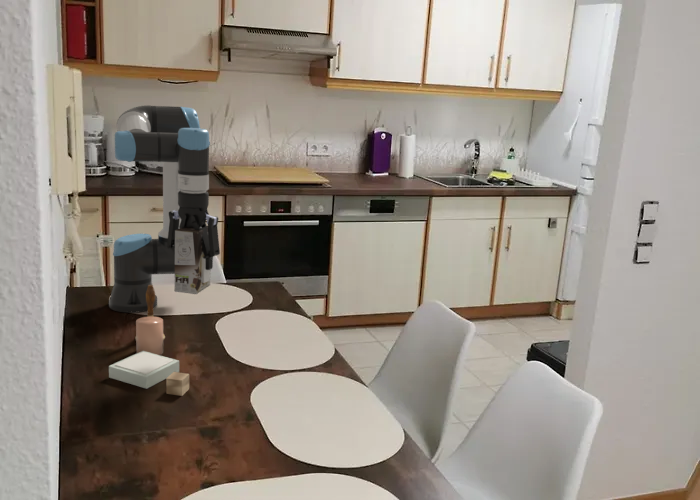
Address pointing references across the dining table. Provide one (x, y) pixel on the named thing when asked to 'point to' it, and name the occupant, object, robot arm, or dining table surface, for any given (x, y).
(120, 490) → the dining table surface
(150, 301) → the hand bell
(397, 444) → the dining table surface
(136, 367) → the podium
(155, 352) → the peach upright cylinder
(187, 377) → the beech block
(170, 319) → the dining table surface
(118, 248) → the robot arm
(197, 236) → the coffee box
